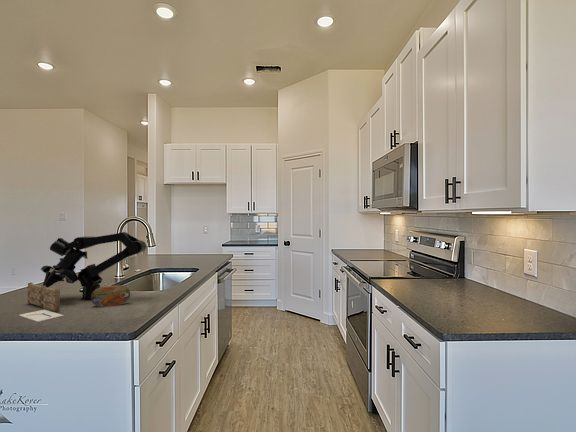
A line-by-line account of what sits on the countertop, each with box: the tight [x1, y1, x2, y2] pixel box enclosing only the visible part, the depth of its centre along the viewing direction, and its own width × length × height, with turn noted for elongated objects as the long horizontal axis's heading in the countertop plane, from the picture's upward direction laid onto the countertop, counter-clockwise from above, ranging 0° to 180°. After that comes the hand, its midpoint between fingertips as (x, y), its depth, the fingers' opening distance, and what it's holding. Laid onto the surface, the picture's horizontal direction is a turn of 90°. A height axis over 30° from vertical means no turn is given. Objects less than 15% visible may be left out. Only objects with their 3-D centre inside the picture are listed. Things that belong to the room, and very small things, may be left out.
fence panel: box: [27, 282, 42, 307], centre depth 147 cm, size 11×2×8 cm, turn 60°
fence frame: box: [40, 285, 61, 313], centre depth 141 cm, size 12×2×9 cm, turn 60°
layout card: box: [18, 309, 64, 323], centre depth 133 cm, size 14×9×1 cm, turn 60°
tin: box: [91, 284, 131, 308], centre depth 150 cm, size 15×3×8 cm, turn 117°
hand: (42, 289), depth 148 cm, fingers closed
